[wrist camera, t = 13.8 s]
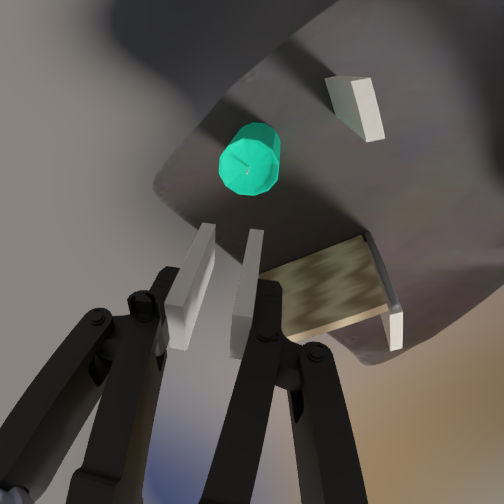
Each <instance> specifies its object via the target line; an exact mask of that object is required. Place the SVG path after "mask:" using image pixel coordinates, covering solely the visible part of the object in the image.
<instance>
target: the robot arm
mask: <svg viewBox="0 0 504 504" xmlns="http://www.w3.org/2000/svg"><path fill="white" fill-rule="evenodd" d="M215 229H216V224H210V223H202V224H201V226H200V228H199V230H198V232H197V234H196V236H195V238H194V240H193V243H192V245H191V247H190V249H189V251H188V253H187V255H186V257H185V259H184V261H183V264H182V266H181V268H176V267H169V266H166V267H165V268H164V269H162V270H161V271H160V272H159V273H158V275H157V278H156V280H155V281H154V283H153V285H152V287H151V289H150V290H149V291H147V290H143V291H141V290H140V291H137V292H134V293H133V294H131V295H130V296H129V298H128V299H127V301H128V305H129V310H130V314H129V315H124V316H112V314H111V313H110V311H108V310H107V309H105V308H95V309H92V310H90V311H89V312H88V313H86V314H85V315H84V317H83V318H82V319H81V320H80V321H79V323H78V324H77V325H76V326H75V328H74V329H73V330H72V331H71V332H70V334H69V335H68V336H67V337H66V339H65V340H64V341H63V342H62V343H61V345H60V346H59V347H58V349H57V350H56V351H55V352H54V354H53V355H52V356H51V358H50V359H49V360H48V362H47V363H46V364H45V366H44V367H43V368H42V369H41V371H40V372H39V373H38V375H37V376H36V377H35V379H34V380H33V381H32V383H31V384H30V386H29V387H28V388H27V390H26V391H25V392H24V394H23V396H22V397H21V398H20V400H19V401H18V402H17V404H16V405H15V407H14V408H13V410H12V411H11V413H10V414H9V416H8V417H7V419H6V420H5V422H4V423H3V425H2V426H1V428H0V504H34V502H35V501H36V500H38V499H39V498H40V497H41V495H42V494H43V493H44V492H45V491H46V489H47V487H48V486H49V484H50V482H51V481H52V479H53V477H54V475H55V474H56V472H57V470H58V468H59V466H60V465H61V463H62V461H63V459H64V457H65V455H66V454H67V452H68V450H69V449H70V447H71V445H72V444H73V442H74V440H75V438H76V437H77V435H78V433H79V432H80V430H81V428H82V426H83V425H84V423H85V421H86V420H87V418H88V416H89V415H90V413H91V412H92V410H93V408H94V407H95V405H96V403H97V402H98V400H99V398H100V397H101V395H102V397H101V400H100V403H99V406H98V410H97V413H96V416H95V420H94V423H93V427H92V431H91V434H90V438H89V441H88V446H87V449H86V453H85V457H84V462H83V464H82V466H81V468H79V469H77V470H76V471H75V472H74V473H73V475H72V478H71V482H70V486H69V491H68V496H67V500H66V504H143V498H142V488H143V481H144V474H145V468H146V462H147V456H148V449H149V444H150V438H151V432H152V427H153V422H154V416H155V411H156V406H157V401H158V396H159V391H160V386H161V381H162V377H163V372H164V367H165V363H166V359H167V350H166V348H167V345H168V342H170V347H171V348H176V349H181V350H187V348H188V345H189V341H190V338H191V335H192V331H193V329H194V325H195V322H196V319H197V315H198V313H199V309H200V306H201V303H202V300H203V297H204V294H205V291H206V288H207V285H208V282H209V279H210V276H211V273H212V270H213V267H214V257H215ZM263 234H264V230H257V229H250V231H249V236H248V241H247V246H246V251H245V256H244V260H243V265H242V270H241V275H240V280H239V285H238V290H237V295H236V300H235V304H234V309H233V314H232V327H231V340H230V354H229V358H234V359H242V361H241V365H240V368H239V372H238V375H237V379H236V382H235V386H234V389H233V393H232V397H231V400H230V403H229V407H228V410H227V414H226V417H225V420H224V424H223V427H222V431H221V435H220V438H219V441H218V445H217V448H216V451H215V454H214V458H213V462H212V464H211V468H210V471H209V474H208V478H207V481H206V484H205V487H204V491H203V494H202V497H201V499H200V501H199V503H198V504H250V500H251V496H252V492H253V488H254V483H255V479H256V475H257V470H258V465H259V461H260V456H261V452H262V447H263V442H264V437H265V432H266V427H267V422H268V417H269V412H270V407H271V402H272V397H273V391H274V386H275V385H276V386H278V387H281V388H283V389H286V390H287V393H288V401H289V408H290V416H291V424H292V431H293V439H294V447H295V454H296V461H297V469H298V478H299V486H300V494H301V502H302V504H368V501H367V496H366V491H365V486H364V481H363V476H362V471H361V467H360V462H359V458H358V454H357V449H356V445H355V440H354V436H353V432H352V428H351V423H350V419H349V415H348V411H347V407H346V403H345V399H344V395H343V392H342V388H341V384H340V380H339V376H338V372H337V369H336V365H335V361H334V358H333V354H332V352H331V350H330V349H329V348H328V347H327V346H326V345H324V344H322V343H320V342H308V343H306V344H305V345H303V346H302V345H299V344H297V343H294V342H292V341H290V340H289V339H288V338H286V336H285V335H284V334H283V332H282V327H281V325H282V294H283V288H282V287H281V285H280V283H279V281H273V280H266V279H258V273H259V265H260V258H261V250H262V242H263Z"/></svg>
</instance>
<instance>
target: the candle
mask: <svg viewBox="0 0 504 504" xmlns="http://www.w3.org/2000/svg"><path fill="white" fill-rule="evenodd" d="M279 163H280V139H279V137H278V135H277V133H276V130H274V129H273V128H271V127H270V126H268V125H267V124H266V123H257V122H252V123H250V124H248V125H245V126H243V127H242V128H241V129H240V130H239V132H238V133H237V134H236V136H235V137H234V138H233V140H232V141H231V142H230V144H229V145H228V146H227V148H226V149H225V151H224V152H223V154H222V155H221V156H220V162H219V175H220V177H221V178H222V180H223V182H224V184H225V186H226V187H228V188H230V189H231V190H233V191H234V192H236V193H237V194H239V195H252V196H255V195H257V194H260V193H263V192H266V191H268V190H269V189H270V188H271V187H272V186H273V185H274V183H275V182H276V181H277V180H278V172H279Z"/></svg>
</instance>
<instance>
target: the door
mask: <svg viewBox="0 0 504 504" xmlns="http://www.w3.org/2000/svg"><path fill="white" fill-rule="evenodd" d="M260 279H266V280H273V281H279V283H280V285H281V287H282V288H283V294H282V325H281V327H282V332H283V334H284V335H285V336H286V338H288V339H289V340H290V341H292V342H296V341H299V340H302V339H306V338H309V337H313V336H316V335H319V334H322V333H325V332H329V331H332V330H335V329H338V328H341V327H344V326H347V325H350V324H353V323H356V322H359V321H361V320H364V319H367V318H370V317H373V316H375V315H378V314H381V313H384V312H386V311H389V309H388V306H387V302H386V299H385V297H384V294H383V291H382V288H381V285H380V282H379V279H378V277H377V274H376V271H375V269H374V266H373V263H372V261H371V258H370V255H369V253H368V250H367V248H366V245H365V243H364V240H363V238H362V235H359V236H357V237H354V238H352V239H349V240H346V241H344V242H341V243H339V244H336V245H334V246H331V247H329V248H326V249H324V250H321V251H318V252H316V253H313V254H311V255H308V256H305V257H303V258H300V259H298V260H295V261H292V262H290V263H287V264H285V265H282V266H279V267H277V268H274V269H271V270H269V271H266V272H263V273H261V274H260Z"/></svg>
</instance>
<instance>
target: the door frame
mask: <svg viewBox="0 0 504 504" xmlns="http://www.w3.org/2000/svg"><path fill="white" fill-rule="evenodd" d="M324 79H325V82H326V86H327V89H328V92H329V95H330V99H331V102H332V105H333V109H334V112H335V116H337V117H338V118H339V119H340V120H341V121H343V122H344V123H345V124H346V125H347V126H349V127H350V128H351V129H352V130H353V131H354V132H355V133H357V134H358V135H359V136H360V137H361V138H362V139H363V140H365V141H366V142H371V141H375V140H380V139H385V136H384V131H383V126H382V122H381V117H380V113H379V109H378V105H377V101H376V97H375V93H374V89H373V86H372V82H371V78H368V77H353V76H333V77H329V78H324ZM364 236H365V238H366V241H367V242H364V243H365V245H366V248H367V250H368V253H369V255H370V258H371V261H372V263H373V266H374V269H375V271H376V274H377V277H378V279H379V282H380V285H381V288H382V291H383V294H384V297H385V299H386V302H387V306H388V309H389V311H386V312H384V313H381V314H380V315H381V318H382V322H383V325H384V329H385V333H386V336H387V340H388V344H389V347H390V351H393V350H397V349H401V348H402V339H403V311H402V308H401V306H400V303H399V300H398V297H397V295H396V292H395V290H394V287H393V285H392V282H391V280H390V277H389V275H388V272H387V270H386V267H385V265H384V263H383V260H382V258H381V256H380V253H379V251H378V249H377V246H376V244H375V242H374V240H373V237H372V235H371V233H370V232H366V233H365V234H364Z"/></svg>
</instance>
